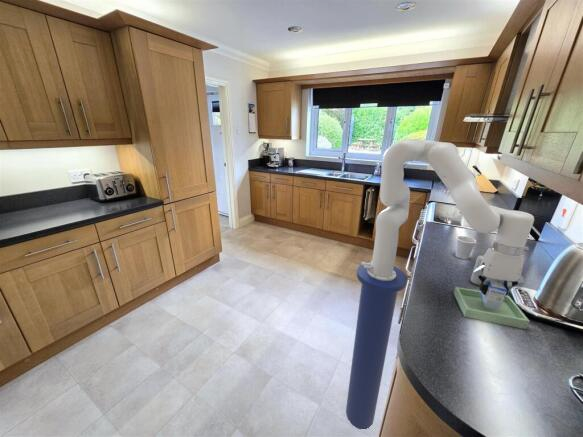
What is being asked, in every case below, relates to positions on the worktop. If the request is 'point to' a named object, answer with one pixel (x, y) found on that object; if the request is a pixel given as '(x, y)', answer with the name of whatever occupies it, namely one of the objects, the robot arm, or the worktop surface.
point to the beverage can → (474, 278)
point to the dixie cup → (464, 246)
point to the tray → (476, 309)
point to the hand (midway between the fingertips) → (492, 293)
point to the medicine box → (494, 294)
